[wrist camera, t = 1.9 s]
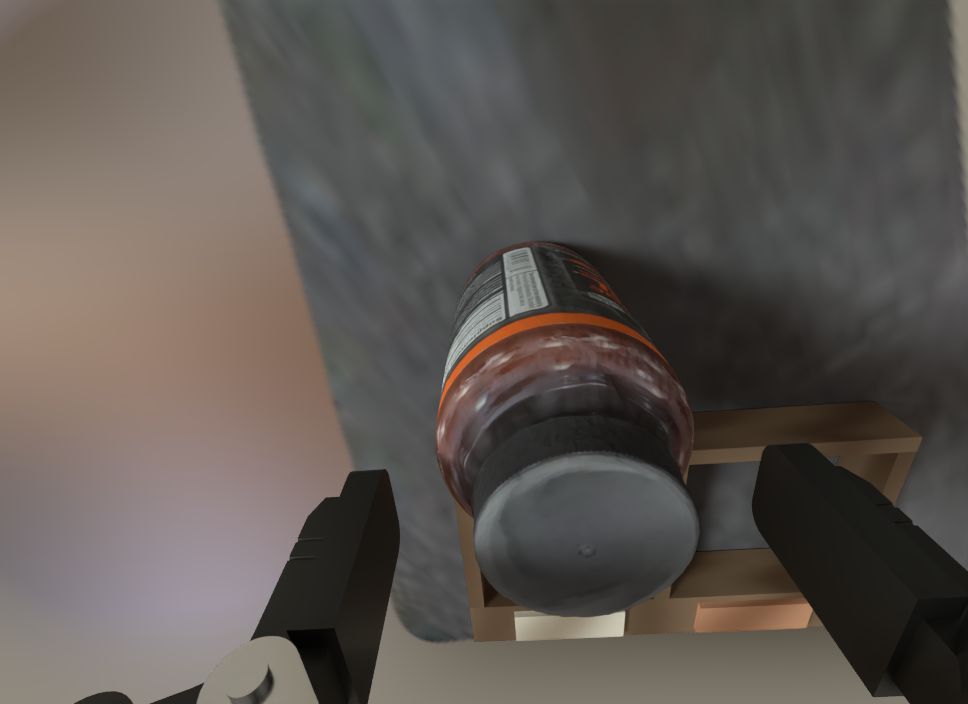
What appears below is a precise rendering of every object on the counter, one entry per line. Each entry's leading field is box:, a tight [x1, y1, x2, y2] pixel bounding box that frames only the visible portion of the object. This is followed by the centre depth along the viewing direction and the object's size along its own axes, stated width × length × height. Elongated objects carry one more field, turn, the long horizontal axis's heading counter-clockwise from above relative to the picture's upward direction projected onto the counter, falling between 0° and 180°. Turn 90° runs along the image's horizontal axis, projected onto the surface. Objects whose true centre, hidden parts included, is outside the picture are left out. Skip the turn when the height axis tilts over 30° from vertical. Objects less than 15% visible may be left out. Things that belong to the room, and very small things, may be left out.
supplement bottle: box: [436, 242, 700, 617], centre depth 13 cm, size 6×6×11 cm
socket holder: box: [454, 401, 923, 642], centre depth 22 cm, size 18×11×3 cm, turn 94°
